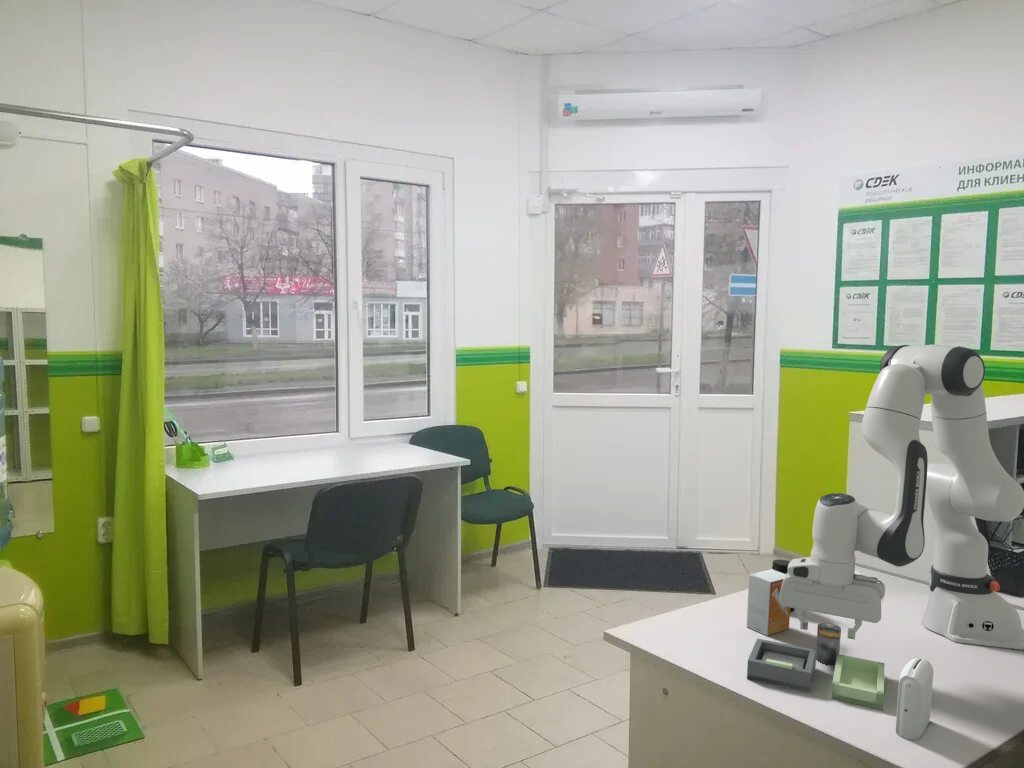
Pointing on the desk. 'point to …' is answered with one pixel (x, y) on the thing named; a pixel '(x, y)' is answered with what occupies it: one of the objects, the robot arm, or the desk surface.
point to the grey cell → (828, 643)
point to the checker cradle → (781, 666)
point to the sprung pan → (784, 659)
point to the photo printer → (914, 698)
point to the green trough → (858, 681)
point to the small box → (766, 603)
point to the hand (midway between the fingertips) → (827, 633)
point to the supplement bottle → (781, 569)
